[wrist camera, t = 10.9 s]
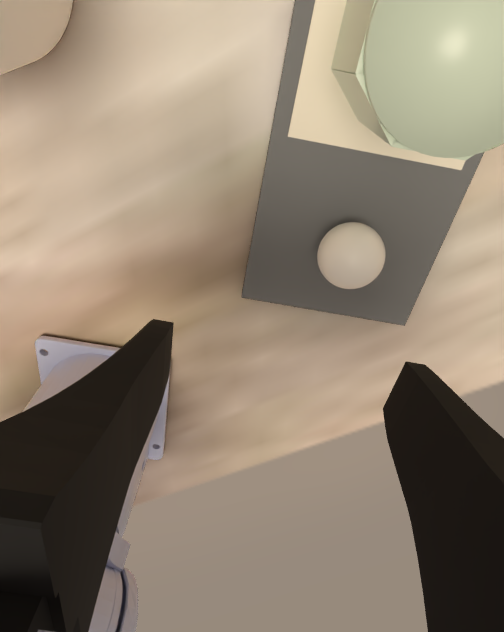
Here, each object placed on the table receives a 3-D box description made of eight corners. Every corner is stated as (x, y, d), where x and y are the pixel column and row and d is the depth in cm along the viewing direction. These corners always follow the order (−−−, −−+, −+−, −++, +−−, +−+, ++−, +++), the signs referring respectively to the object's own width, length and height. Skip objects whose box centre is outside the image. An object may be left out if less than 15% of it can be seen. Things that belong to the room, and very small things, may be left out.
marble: (365, 275, 20) (378, 306, 18) (308, 265, 20) (312, 295, 18) (386, 219, 19) (403, 244, 16) (324, 207, 19) (331, 231, 16)
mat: (402, 320, 22) (405, 327, 22) (242, 292, 22) (241, 299, 21) (575, -65, 14) (589, -70, 13) (317, -124, 13) (319, -132, 13)
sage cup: (448, 138, 17) (523, 173, 12) (320, 113, 16) (340, 139, 11) (515, -31, 14) (654, -81, 9) (361, -64, 14) (413, -135, 8)
